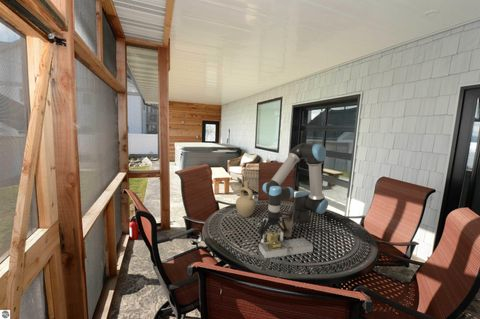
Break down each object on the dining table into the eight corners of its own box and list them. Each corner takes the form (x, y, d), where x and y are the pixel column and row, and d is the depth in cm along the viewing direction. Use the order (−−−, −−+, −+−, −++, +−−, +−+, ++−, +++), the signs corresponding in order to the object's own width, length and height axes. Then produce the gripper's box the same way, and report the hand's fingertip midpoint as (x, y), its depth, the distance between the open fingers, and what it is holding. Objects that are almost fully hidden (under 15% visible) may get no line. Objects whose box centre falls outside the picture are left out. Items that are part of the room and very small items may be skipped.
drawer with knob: (276, 249, 139) (277, 239, 138) (280, 253, 134) (280, 243, 133) (268, 250, 137) (269, 240, 136) (272, 254, 132) (272, 244, 132)
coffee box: (277, 234, 158) (279, 212, 156) (279, 231, 164) (280, 209, 162) (290, 237, 155) (292, 215, 153) (292, 233, 161) (293, 211, 159)
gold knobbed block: (273, 240, 150) (274, 231, 149) (277, 244, 145) (277, 234, 144) (266, 241, 148) (267, 231, 148) (270, 244, 144) (270, 235, 143)
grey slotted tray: (303, 243, 147) (303, 237, 146) (312, 251, 137) (313, 245, 137) (258, 249, 138) (259, 243, 137) (265, 258, 128) (265, 251, 128)
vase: (231, 215, 191) (232, 180, 187) (245, 210, 202) (247, 178, 198) (244, 221, 179) (246, 184, 175) (259, 216, 190) (261, 181, 186)
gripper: (288, 207, 151) (286, 237, 154) (253, 209, 144) (252, 241, 147) (294, 211, 144) (291, 243, 147) (258, 214, 137) (256, 247, 140)
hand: (272, 242), depth 147 cm, fingers open, 12 cm apart
